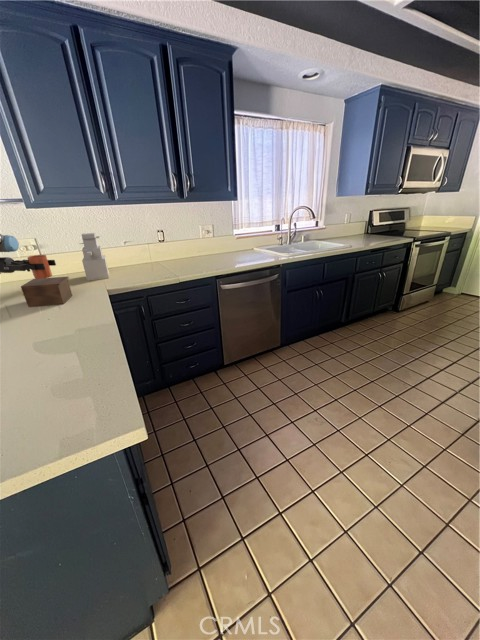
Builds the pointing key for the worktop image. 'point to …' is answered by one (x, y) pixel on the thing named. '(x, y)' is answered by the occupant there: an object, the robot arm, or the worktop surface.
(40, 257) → the cup
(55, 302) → the box
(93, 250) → the blocky snowman figure
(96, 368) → the worktop surface
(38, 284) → the box lid
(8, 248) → the robot arm
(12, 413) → the worktop surface
